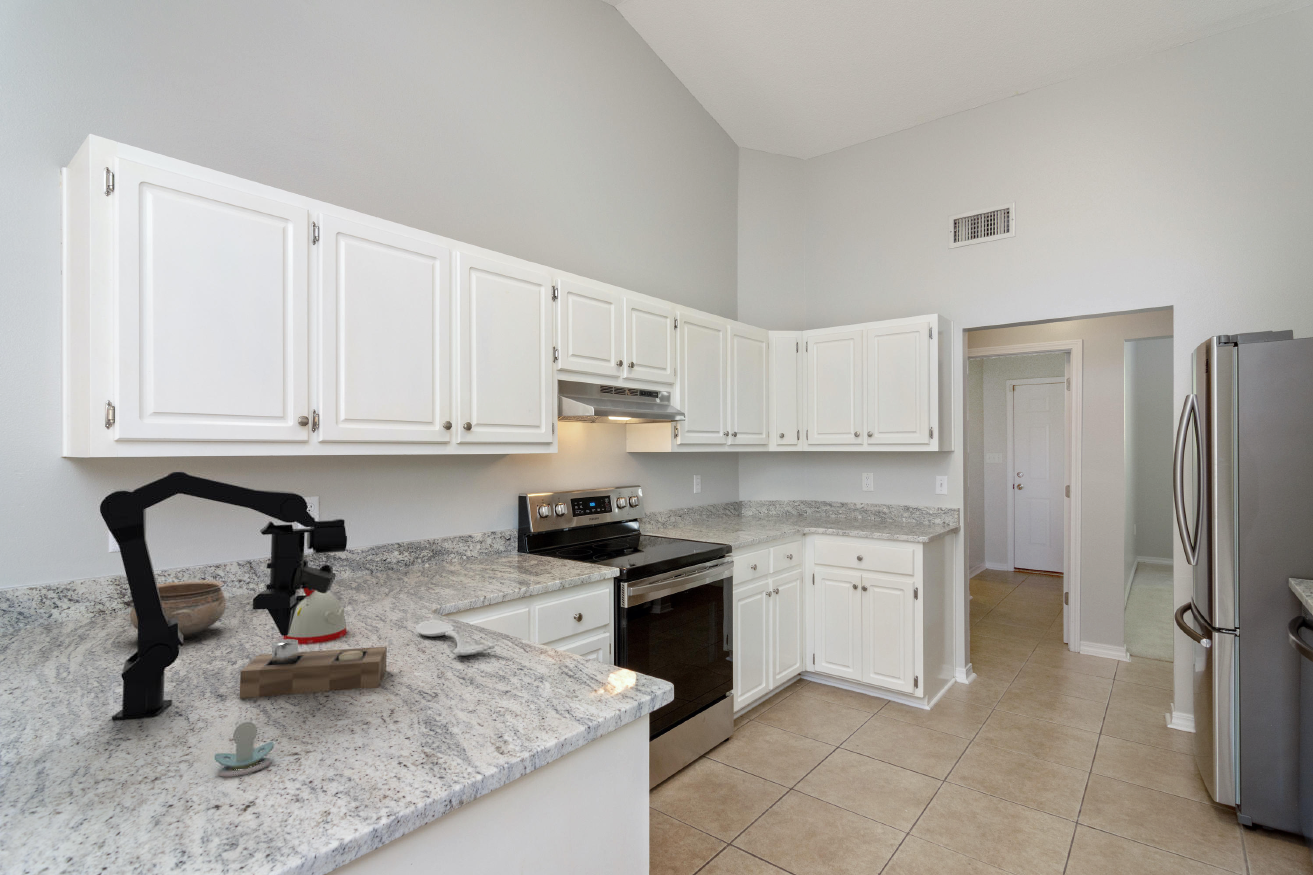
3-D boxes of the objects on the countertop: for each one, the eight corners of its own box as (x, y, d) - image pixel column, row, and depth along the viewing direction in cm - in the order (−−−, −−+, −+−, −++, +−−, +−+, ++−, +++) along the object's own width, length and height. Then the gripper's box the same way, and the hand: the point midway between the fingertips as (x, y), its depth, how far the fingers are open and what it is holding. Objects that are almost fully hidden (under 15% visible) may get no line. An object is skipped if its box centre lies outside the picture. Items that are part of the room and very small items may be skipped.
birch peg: (360, 680, 125) (360, 657, 125) (335, 682, 124) (336, 658, 124) (364, 673, 130) (364, 650, 130) (341, 675, 128) (341, 651, 129)
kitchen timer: (269, 641, 153) (271, 579, 153) (313, 626, 166) (314, 569, 166) (317, 646, 149) (319, 582, 150) (358, 630, 163) (359, 572, 163)
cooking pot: (130, 631, 159) (132, 583, 159) (220, 620, 171) (222, 575, 171) (127, 657, 140) (129, 602, 140) (229, 642, 151) (231, 591, 152)
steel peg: (293, 669, 122) (294, 644, 122) (268, 670, 121) (268, 646, 121) (300, 661, 127) (300, 638, 127) (275, 663, 125) (276, 639, 126)
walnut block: (378, 687, 124) (378, 661, 124) (239, 697, 117) (240, 671, 118) (386, 670, 133) (386, 646, 133) (258, 679, 127) (259, 654, 127)
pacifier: (274, 770, 91) (272, 753, 96) (276, 727, 91) (273, 712, 96) (213, 785, 87) (214, 766, 92) (214, 740, 87) (215, 723, 92)
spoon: (457, 666, 137) (457, 650, 137) (410, 633, 162) (410, 619, 162) (496, 658, 143) (496, 643, 143) (445, 627, 168) (445, 614, 168)
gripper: (320, 562, 118) (317, 646, 117) (342, 548, 136) (340, 620, 135) (253, 564, 115) (250, 650, 114) (284, 549, 133) (282, 623, 132)
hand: (284, 635), depth 124 cm, fingers closed
